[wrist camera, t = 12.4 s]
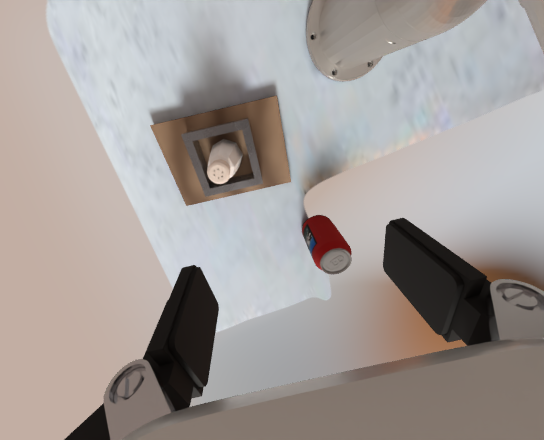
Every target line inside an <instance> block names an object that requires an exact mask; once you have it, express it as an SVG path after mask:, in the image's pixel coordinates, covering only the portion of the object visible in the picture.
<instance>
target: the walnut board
mask: <svg viewBox="0 0 544 440" xmlns="http://www.w3.org/2000/svg"><path fill="white" fill-rule="evenodd" d="M245 118H248V120H249V124H250V128H251V133H252V137H253V141H254V145H255V150H256V154H257V158H258V162H259V167H260V171H261V175H262V180H263V184H259V185H255V186H250V187H246V188H242V189H237V190H233V191H229V192H224V193H220V194H216V195H211V196H207V197H205V195H204V192H203V189H202V187H201V184H200V182H199V179H198V177H197V174H196V172H195V169H194V166H193V164H192V161H191V159H190V156H189V154H188V151H187V149H186V146H185V144H184V141H183V138H182V136H181V134H184V133H186V132H190V131H194V130H198V129H203V128H207V127H211V126H215V125H220V124H224V123H228V122H232V121H237V120H241V119H245ZM150 126H151V128H152V130H153V133H154V135H155V137H156V139H157V142H158V144H159V146H160V148H161V150H162V153H163V155H164V157H165V159H166V161H167V164H168V166H169V168H170V170H171V173H172V175H173V177H174V179H175V181H176V184H177V186H178V188H179V190H180V192H181V195H182V197H183V199H184V201H185V204H186V206H188V205H193V204H197V203H201V202H206V201H210V200H214V199H219V198H223V197H227V196H232V195H236V194H240V193H245V192H249V191H253V190H258V189H262V188H266V187H271V186H275V185H279V184H284V183H288V182H291V179H290V173H289V167H288V161H287V154H286V148H285V142H284V136H283V130H282V124H281V118H280V112H279V106H278V100H277V96H273V97H269V98H265V99H260V100H256V101H252V102H248V103H243V104H239V105H235V106H231V107H226V108H222V109H218V110H214V111H210V112H205V113H201V114H197V115H193V116H188V117H184V118H180V119H176V120H171V121H167V122H163V123H159V124H154V125H150ZM222 139H226V140H229V141H232V142H236V143H237V145H238V147H239V148H240V150H241V152H242V154H243V155H242V160H241V164H240V167H239V168H238V170H237V171H236V173H235V174H234V175H233V176H232V177H237V176H241V175H245V174H250V173H253V171H252V167H251V163H250V159H249V155H248V151H247V147H246V143H245V139H244V135H243V131H242V130H238V131H234V132H230V133H225V134H221V135H217V136H213V137H208V138H204V139H200V140H198V141H199V144H200V147H201V149H202V152H203V155H204V158H205V161H206V163H207V166H208V161H209V157H210V153H211V150H212V146H213V145H214V144H216V143H217V142H219V141H221V140H222ZM232 177H231V178H232Z"/></svg>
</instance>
